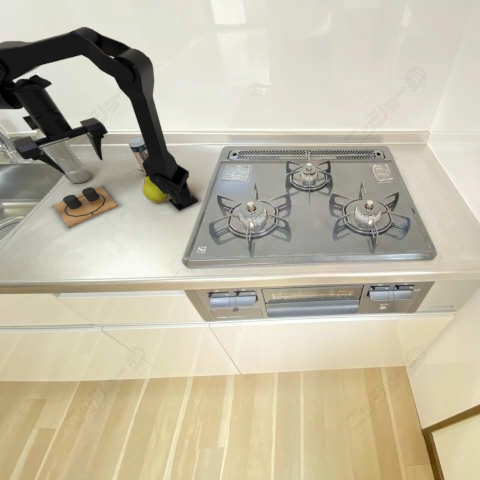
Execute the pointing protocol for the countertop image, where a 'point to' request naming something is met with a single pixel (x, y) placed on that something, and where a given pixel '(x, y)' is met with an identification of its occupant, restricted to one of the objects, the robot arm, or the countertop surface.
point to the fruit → (153, 191)
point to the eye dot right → (90, 194)
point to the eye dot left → (72, 201)
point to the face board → (85, 208)
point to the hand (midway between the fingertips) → (83, 166)
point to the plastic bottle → (67, 160)
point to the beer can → (139, 150)
